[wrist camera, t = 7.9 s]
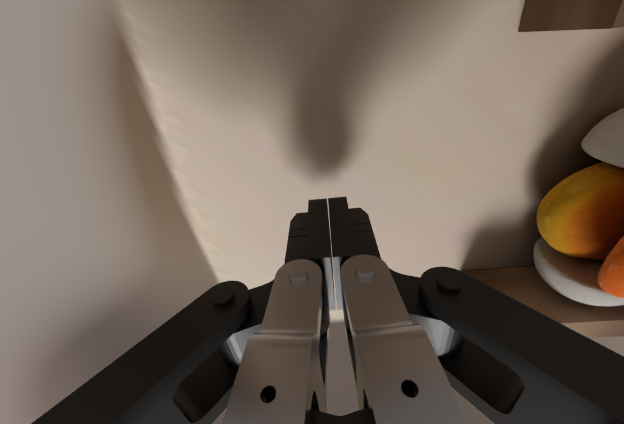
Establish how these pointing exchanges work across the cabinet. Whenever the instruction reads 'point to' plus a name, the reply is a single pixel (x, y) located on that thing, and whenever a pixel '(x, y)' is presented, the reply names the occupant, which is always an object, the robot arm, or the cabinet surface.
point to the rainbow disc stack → (587, 223)
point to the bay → (526, 280)
